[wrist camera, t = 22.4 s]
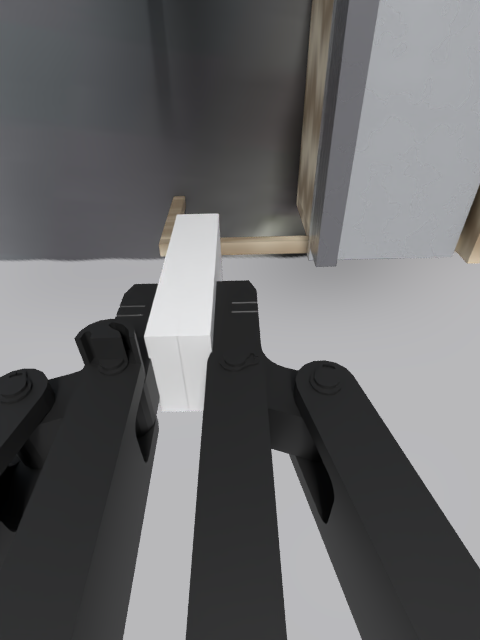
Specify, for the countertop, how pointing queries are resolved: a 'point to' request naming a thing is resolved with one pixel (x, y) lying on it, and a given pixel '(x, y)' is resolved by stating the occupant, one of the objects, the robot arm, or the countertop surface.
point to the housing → (314, 163)
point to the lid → (397, 130)
